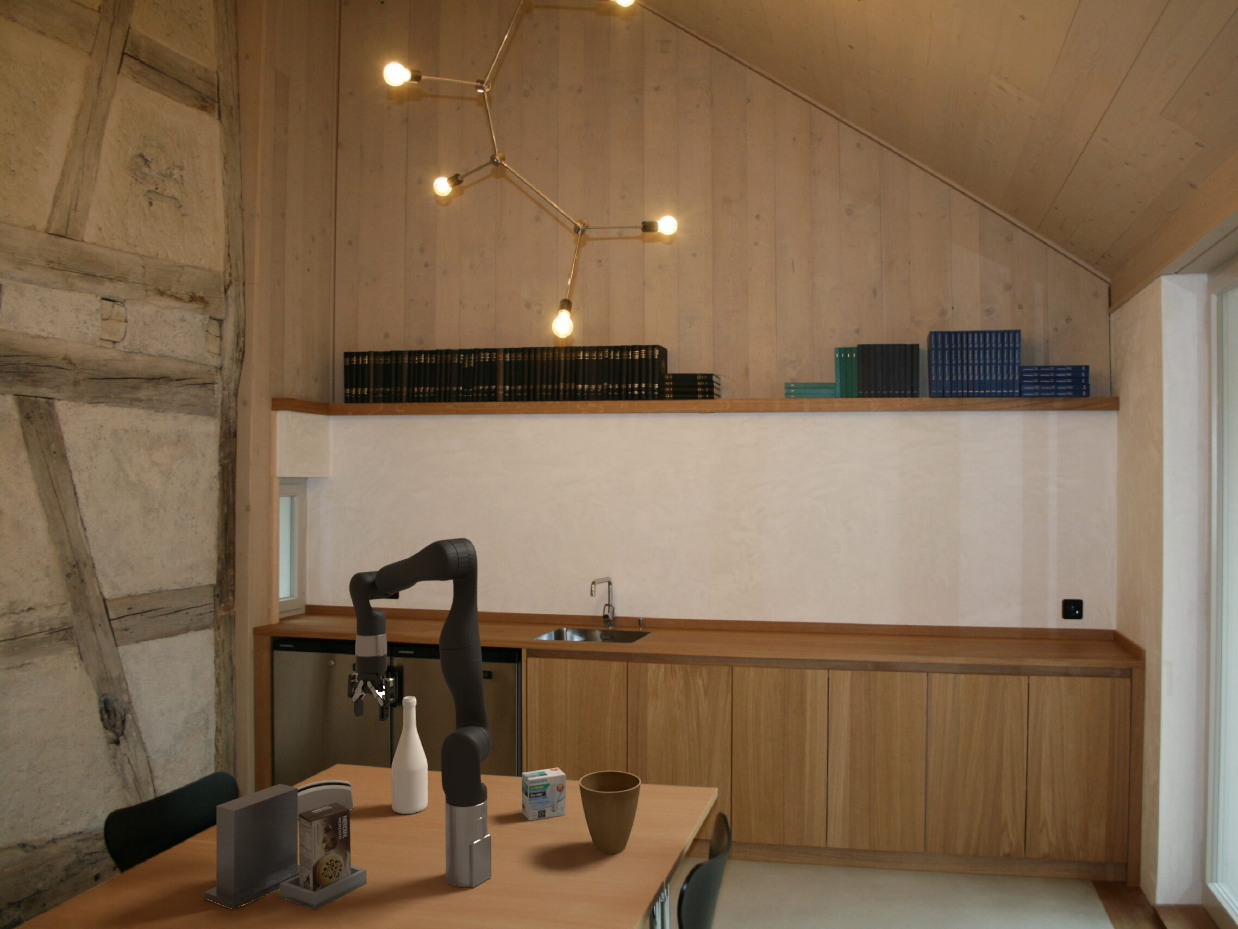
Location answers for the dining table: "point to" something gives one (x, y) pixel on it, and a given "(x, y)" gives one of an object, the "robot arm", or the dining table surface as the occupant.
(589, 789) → the plant pot
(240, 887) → the upright panel on base
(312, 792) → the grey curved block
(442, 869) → the dining table surface
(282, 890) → the parts tray
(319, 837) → the coffee box
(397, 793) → the wine bottle
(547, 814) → the light bulb box
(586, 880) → the dining table surface
